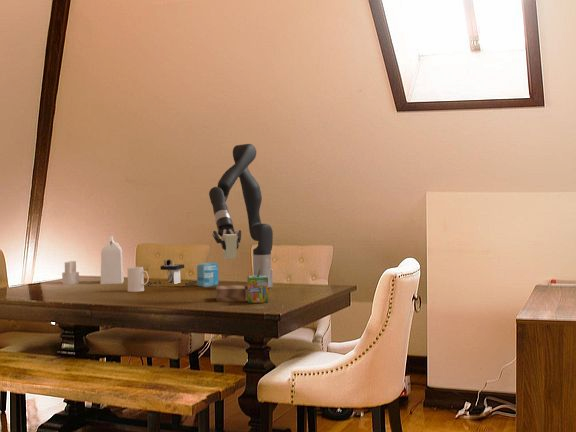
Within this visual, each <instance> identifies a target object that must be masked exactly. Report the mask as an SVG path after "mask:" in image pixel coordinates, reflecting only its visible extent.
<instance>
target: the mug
mask: <svg viewBox="0 0 576 432" xmlns="http://www.w3.org/2000/svg"><path fill="white" fill-rule="evenodd" d="M126 269H127V292H130V293H131V292H132V293H134V292H135V293H138V292H144V291H145V286H144V285H146V284H148V283H149V279H150V277H149V273H148V272H147V271H146V270H144V266H129V267H127V268H126ZM145 274H146V277H147V279H146V280H147V281H146V282H145V280H144V279H145V278H144V276H145Z"/></svg>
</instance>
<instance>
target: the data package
mask: <svg viewBox="0 0 576 432" xmlns="http://www.w3.org/2000/svg"><path fill="white" fill-rule="evenodd" d="M196 278H197V279H196V281H197V283H196V284H197V286H198V287H201V288H206V287H207V288H208V287H216V286H219V263H216V262H206V263H198V264H197V265H196Z"/></svg>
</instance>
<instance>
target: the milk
mask: <svg viewBox="0 0 576 432" xmlns="http://www.w3.org/2000/svg"><path fill="white" fill-rule="evenodd" d="M124 277H125V276H124V260H123V248H122V247H121V245H120V243H119V242H117V241H115V240H114V236H113V235H110V236H109V241H108V243H107V244H105V245H104V247H102V248H101V251H100V285H106V284H107V285H113V284H116V285H117V284H118V285H119V284H123V283H124V281H125V280H124Z"/></svg>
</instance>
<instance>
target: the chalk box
mask: <svg viewBox="0 0 576 432" xmlns="http://www.w3.org/2000/svg"><path fill="white" fill-rule="evenodd" d="M259 273H260V269H259V272H258V275H257V276H253V275H247V281H246V282H247V288H246V290H247V294H246V295H247V297H246V299H247V300H246V301H247V302H248V304H267V303H266V302H268V303H269V288H268V277H267V276H259Z"/></svg>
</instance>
